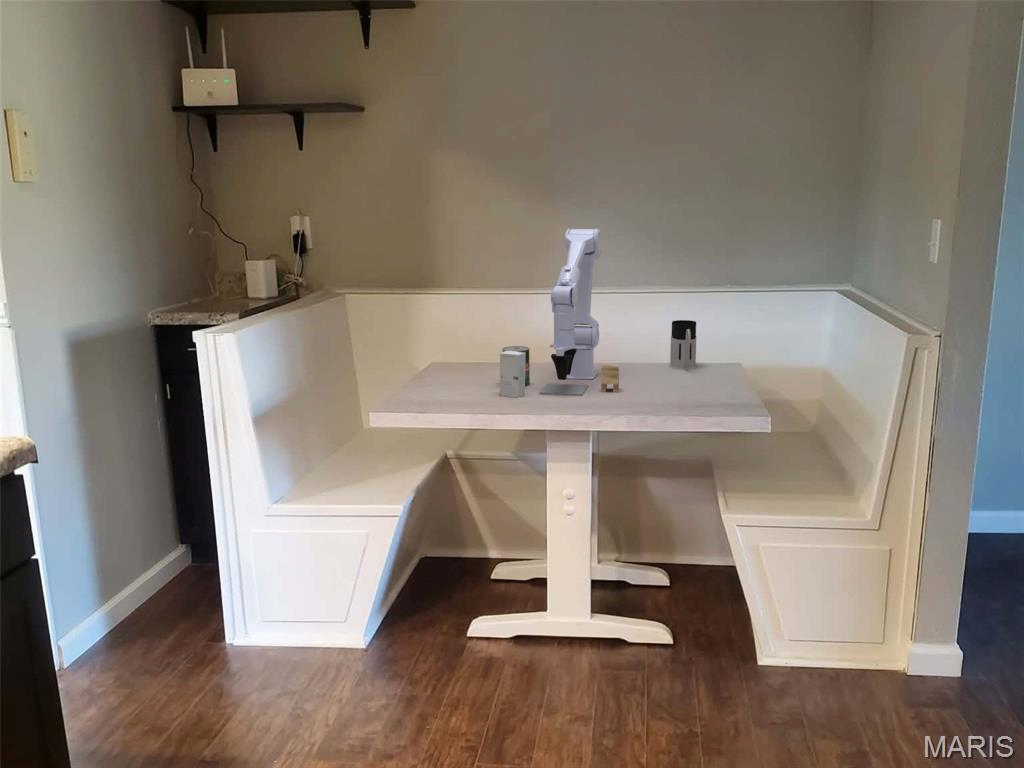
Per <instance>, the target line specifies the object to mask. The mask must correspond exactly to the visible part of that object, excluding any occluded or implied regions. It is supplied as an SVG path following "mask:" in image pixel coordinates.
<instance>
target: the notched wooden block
mask: <svg viewBox="0 0 1024 768" xmlns="http://www.w3.org/2000/svg"><path fill="white" fill-rule="evenodd" d="M601 366H602V367H600V368H601V370H600V371H601V376H600V377H601V379H600V381H601V382H600V383H601V385H600V386H601V387H600V389H601V390H600V391H601V393H606V392H607V389H608V385H613V386H612V387H613V388H612V393H618V391H619V388H620V387H619V386H620V381H619V379H620V366H619V364H614V365H613V364H602V365H601Z"/></svg>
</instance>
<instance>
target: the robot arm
mask: <svg viewBox="0 0 1024 768" xmlns="http://www.w3.org/2000/svg"><path fill="white" fill-rule="evenodd" d="M601 234H602V233H601V231H600V229H599V228H589V229H588V228H585V229H584V228H582V229H581V228H574V229H573V228H567V229H566V231H565V233H564V247H565V248H566V251H567V252H568V253H567V259H566V265H563V266H562V267H561V269H560V273H559V275H558V279H557V282H556V285H555V286H554V287H551V290H550V291H551V292H550V304H551V311H552V313H553V343H550V344H549V348H553V349H554V350H555V353H552V354H551V355H550V358H551V360H552V362H553V364H554V367H555V368H554V369H555V372H556V375H557V380H559V381H560V380H561V381H566V379H569V380H593V379H594V378H595V376H596V375H597V374H598V372H597V371H594V369H595V368H594V367H595V366H594V364H595V363H594V361H595V360H594V348H596V347H597V346H598V345H599V342H600V330H599V329H600V326H599V325H600V324H599V322H598V320H597V319H595V317H593V316H592V315H591V307H592V306H591V305H592V292H593V291H592V289H593V275H594V274H593V273H594V272H593V271H594V265H595V261H596V260H598V259H600V257H601V253H602V252H601V250H602V235H601Z"/></svg>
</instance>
